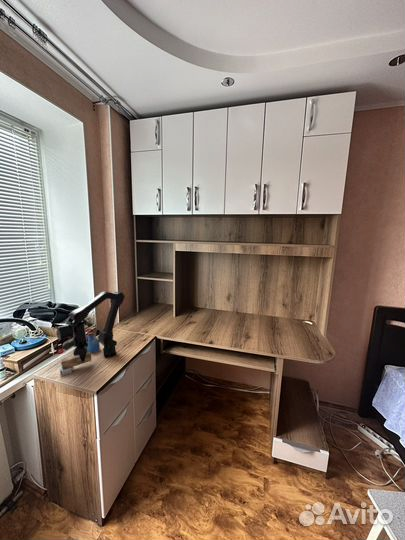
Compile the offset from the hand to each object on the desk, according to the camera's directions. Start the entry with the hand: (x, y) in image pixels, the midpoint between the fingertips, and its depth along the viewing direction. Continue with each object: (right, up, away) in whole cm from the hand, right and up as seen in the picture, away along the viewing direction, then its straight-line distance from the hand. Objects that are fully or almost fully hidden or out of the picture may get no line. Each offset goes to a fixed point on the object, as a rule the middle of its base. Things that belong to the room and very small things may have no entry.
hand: (83, 359), depth 126 cm
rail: (-3, -2, -1) cm, 3 cm away
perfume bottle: (-4, -2, +19) cm, 20 cm away
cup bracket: (-7, -5, -3) cm, 9 cm away
